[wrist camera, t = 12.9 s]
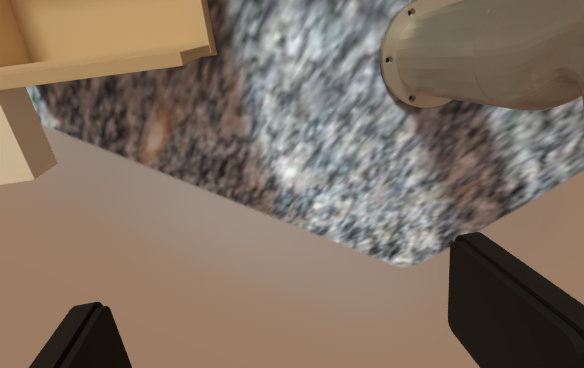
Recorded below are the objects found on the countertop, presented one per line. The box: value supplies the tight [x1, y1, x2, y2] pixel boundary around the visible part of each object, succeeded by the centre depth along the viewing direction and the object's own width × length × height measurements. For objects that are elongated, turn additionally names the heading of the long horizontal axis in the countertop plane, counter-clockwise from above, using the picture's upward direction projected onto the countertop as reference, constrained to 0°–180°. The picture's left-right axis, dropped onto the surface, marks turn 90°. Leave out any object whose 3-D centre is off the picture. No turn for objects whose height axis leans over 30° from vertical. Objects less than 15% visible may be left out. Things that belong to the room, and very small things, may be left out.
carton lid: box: [0, 45, 210, 185], centre depth 23 cm, size 20×16×5 cm
